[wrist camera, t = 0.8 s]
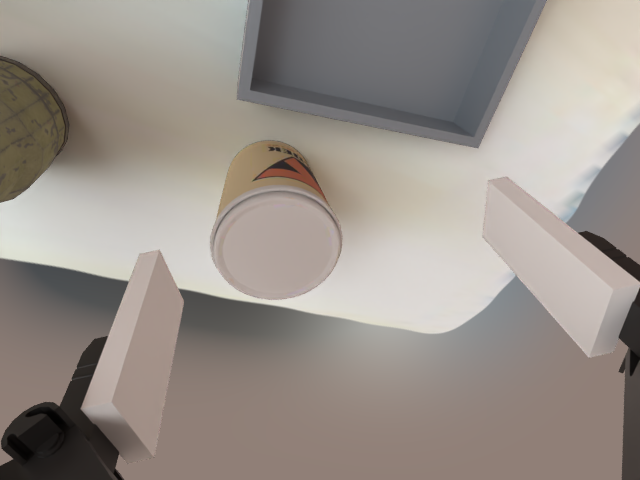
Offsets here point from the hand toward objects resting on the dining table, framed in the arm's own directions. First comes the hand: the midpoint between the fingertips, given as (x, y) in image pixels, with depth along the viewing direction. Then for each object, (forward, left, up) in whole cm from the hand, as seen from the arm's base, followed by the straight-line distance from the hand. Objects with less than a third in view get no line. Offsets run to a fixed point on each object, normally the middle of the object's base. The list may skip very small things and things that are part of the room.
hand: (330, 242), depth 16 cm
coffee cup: (0, -7, -22) cm, 23 cm away
